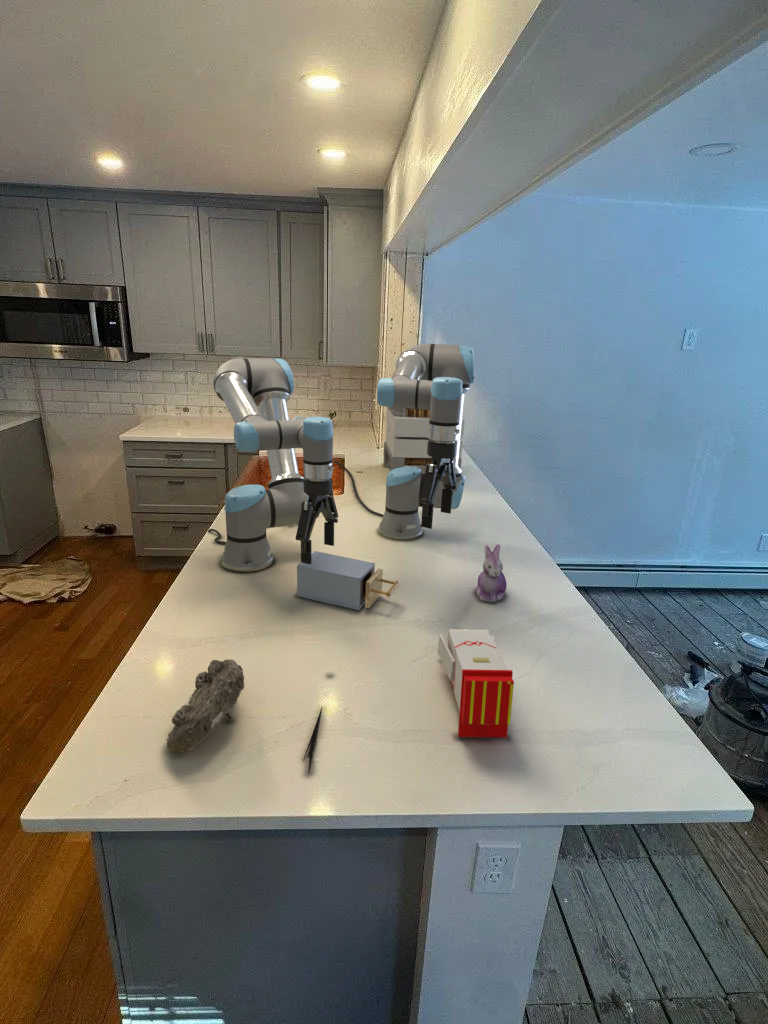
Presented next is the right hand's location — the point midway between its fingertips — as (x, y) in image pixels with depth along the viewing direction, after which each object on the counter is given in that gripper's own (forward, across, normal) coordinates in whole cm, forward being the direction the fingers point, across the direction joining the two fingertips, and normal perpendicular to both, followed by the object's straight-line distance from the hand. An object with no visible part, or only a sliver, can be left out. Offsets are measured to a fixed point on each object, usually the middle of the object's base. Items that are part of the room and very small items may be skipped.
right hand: (436, 519), depth 150 cm
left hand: (+11, -14, +28) cm, 33 cm away
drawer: (+22, -12, +17) cm, 30 cm away
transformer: (+22, +114, +52) cm, 127 cm away
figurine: (+23, +9, -14) cm, 29 cm away
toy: (+23, -34, -23) cm, 47 cm away
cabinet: (+23, -13, +23) cm, 35 cm away
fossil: (+23, -67, +17) cm, 73 cm away
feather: (+23, -57, -1) cm, 62 cm away
